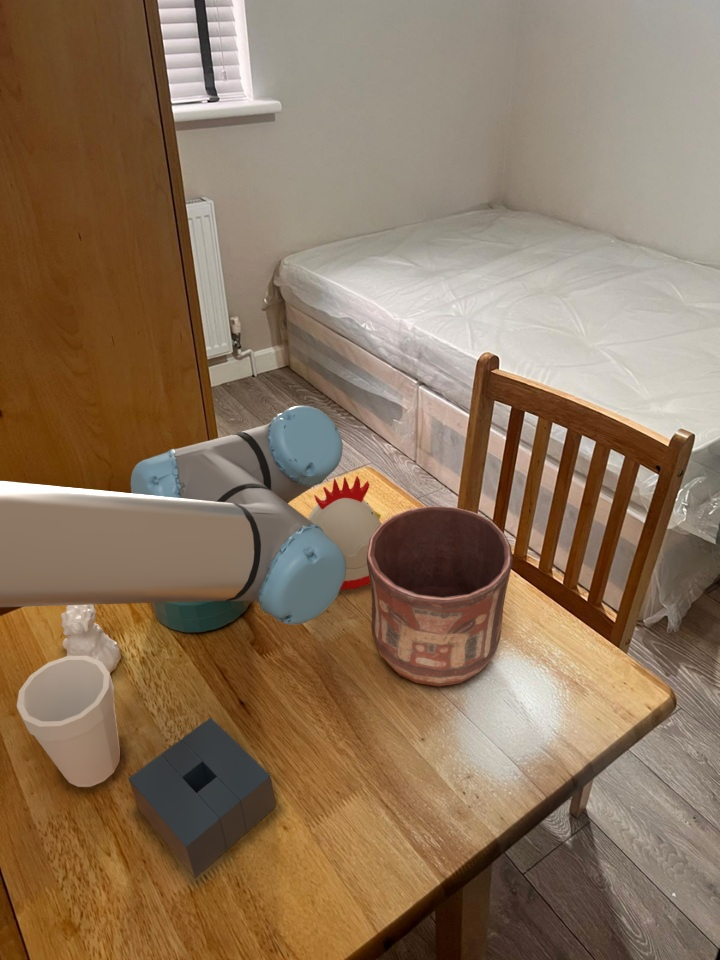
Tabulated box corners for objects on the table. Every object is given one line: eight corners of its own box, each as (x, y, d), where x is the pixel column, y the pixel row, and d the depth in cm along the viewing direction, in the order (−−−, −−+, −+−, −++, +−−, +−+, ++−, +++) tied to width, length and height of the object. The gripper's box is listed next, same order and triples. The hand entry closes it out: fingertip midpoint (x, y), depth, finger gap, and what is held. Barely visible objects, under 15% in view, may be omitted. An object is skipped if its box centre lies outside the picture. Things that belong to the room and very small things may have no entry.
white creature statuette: (68, 641, 100) (45, 576, 94) (131, 638, 101) (112, 573, 94) (46, 697, 93) (19, 631, 86) (115, 694, 93) (93, 628, 86)
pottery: (351, 621, 102) (347, 520, 92) (465, 592, 107) (474, 493, 96) (395, 722, 89) (396, 616, 78) (524, 684, 93) (542, 579, 83)
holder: (195, 878, 74) (185, 847, 70) (139, 810, 80) (127, 778, 76) (275, 807, 80) (270, 775, 76) (217, 749, 86) (210, 716, 83)
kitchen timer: (399, 579, 109) (401, 498, 101) (310, 597, 107) (303, 516, 98) (374, 524, 120) (373, 447, 112) (292, 539, 118) (284, 461, 109)
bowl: (157, 647, 99) (149, 615, 96) (149, 578, 111) (141, 547, 107) (262, 622, 103) (258, 590, 99) (244, 557, 114) (240, 527, 111)
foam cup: (77, 722, 90) (48, 649, 82) (147, 734, 88) (124, 661, 80) (33, 792, 82) (-2, 719, 74) (109, 807, 80) (80, 733, 73)
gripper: (176, 570, 74) (127, 605, 91) (349, 469, 88) (279, 515, 106) (137, 507, 74) (96, 554, 91) (317, 416, 88) (252, 471, 106)
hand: (194, 533), depth 98 cm, fingers open, 13 cm apart
